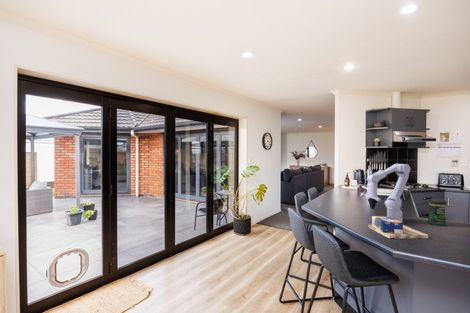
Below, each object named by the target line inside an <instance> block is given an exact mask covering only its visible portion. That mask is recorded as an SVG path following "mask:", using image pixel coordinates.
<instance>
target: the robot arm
mask: <svg viewBox="0 0 470 313" xmlns="http://www.w3.org/2000/svg"><path fill="white" fill-rule="evenodd" d="M411 169H412V168H411V167H410V164H407V163H405V164H404V163H394V164H392V165H391V166H389V167H388V168H386V169H384V170H383V169H379V170H378V171H376V172H373V174H368V175H367V177H366V181H367V185H368V194H365V198H367V202H368V203H369V207H370V209H372V210H374V209H375V208H376V206H377V203H378V202H381V198H380V197H378V183H379V182H380V180H383V179H384V178H386V177H387V175H389V174H391V173H392V174H393V173H394V172H395V173H396V175H397V176H398V180H397V181H396V184H395V187H394V189H393V191H392V192H391V195H390V196H388V197H387V198H386V199H385V201H384V206H385V207H386V217H390V218H393V219H395V220H398V221H400V222H403V223H404V221H403V211H402V210H401V207H402V202H403V201H402V199H401V196H402V194H403V191H404V190H405V187H406V184H407V181H408V180H409V177H410V176H409V174H410V172H411Z"/></svg>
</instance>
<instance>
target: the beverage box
mask: <svg viewBox="0 0 470 313" xmlns="http://www.w3.org/2000/svg"><path fill="white" fill-rule="evenodd" d="M371 225H375V226H376V227H377V228H378V229H380V230H381V231H382V232H384V233H397V234H403V225H404V221H403V222H400V221H398V220H395V219H393V218H390V217H387V216H381V215H380V216H376V215H372V216H371Z"/></svg>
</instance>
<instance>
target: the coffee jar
mask: <svg viewBox="0 0 470 313" xmlns="http://www.w3.org/2000/svg"><path fill="white" fill-rule="evenodd" d="M428 205H429V211H428V220H427V222H428V224H430V225H433V226H442V227H443V226H446V225H447V222H446V207H447V200H446V199H444V198H443V199H442V198H429V200H428Z"/></svg>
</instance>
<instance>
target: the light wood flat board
mask: <svg viewBox="0 0 470 313" xmlns="http://www.w3.org/2000/svg"><path fill="white" fill-rule="evenodd" d="M367 227H369V228H368V229H370V230H372V231H374V232H376V233H378V234H380V235H382V236H383V237H386V238H388V239H390V238H394V239H429V234H427V233H425V232H422V231H420V230H417V229H414V228H412V227H410V226H407V225H406V224H405V225H404V224H403V234H397V233H384V232H382V231H381V230H380V229H378V228H377V227H376V226H375V225H372V224H367Z"/></svg>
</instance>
